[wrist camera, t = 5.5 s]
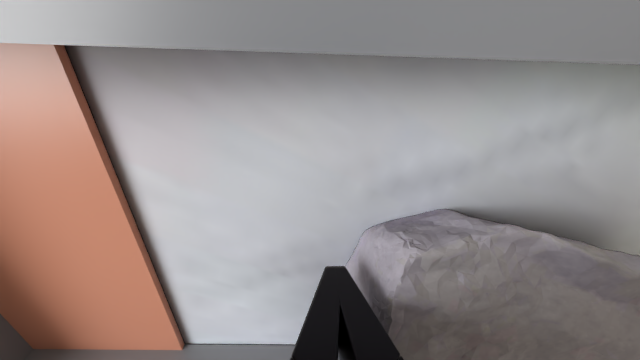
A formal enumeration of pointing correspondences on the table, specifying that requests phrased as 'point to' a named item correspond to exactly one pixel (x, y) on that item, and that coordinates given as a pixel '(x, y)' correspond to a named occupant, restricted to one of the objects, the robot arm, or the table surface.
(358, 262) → the stone block
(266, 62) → the table surface
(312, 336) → the robot arm
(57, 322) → the open tray box
